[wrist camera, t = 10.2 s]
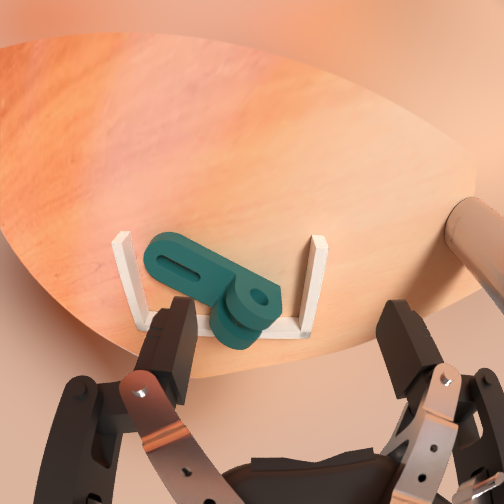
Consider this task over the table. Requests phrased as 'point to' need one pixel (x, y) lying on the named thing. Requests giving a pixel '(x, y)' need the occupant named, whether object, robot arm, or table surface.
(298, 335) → the white open frame
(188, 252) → the bracket
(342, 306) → the table surface
